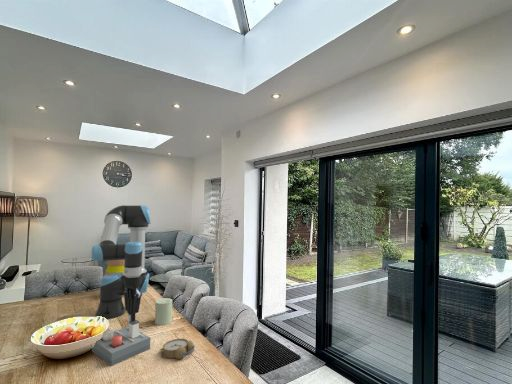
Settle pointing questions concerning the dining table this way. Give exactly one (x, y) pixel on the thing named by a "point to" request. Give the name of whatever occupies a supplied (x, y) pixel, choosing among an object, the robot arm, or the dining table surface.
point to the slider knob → (133, 329)
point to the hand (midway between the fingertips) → (131, 327)
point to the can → (163, 311)
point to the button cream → (107, 335)
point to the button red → (116, 341)
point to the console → (121, 347)
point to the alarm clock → (177, 348)
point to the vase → (115, 267)
